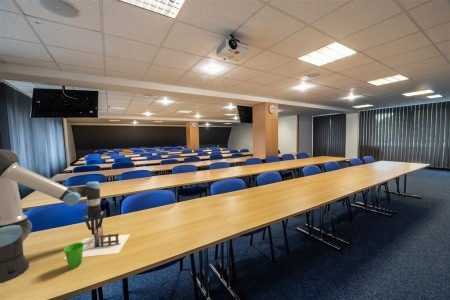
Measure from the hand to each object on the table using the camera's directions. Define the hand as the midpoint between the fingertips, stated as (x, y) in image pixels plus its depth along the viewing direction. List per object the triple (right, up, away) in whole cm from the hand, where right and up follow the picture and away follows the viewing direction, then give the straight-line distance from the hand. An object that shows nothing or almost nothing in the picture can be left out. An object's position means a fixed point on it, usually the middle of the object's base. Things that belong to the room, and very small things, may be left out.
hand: (95, 238), depth 132 cm
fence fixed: (+12, -2, -6) cm, 13 cm away
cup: (+6, -4, -26) cm, 27 cm away
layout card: (+7, -2, -5) cm, 9 cm away
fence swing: (+3, -1, +1) cm, 3 cm away
